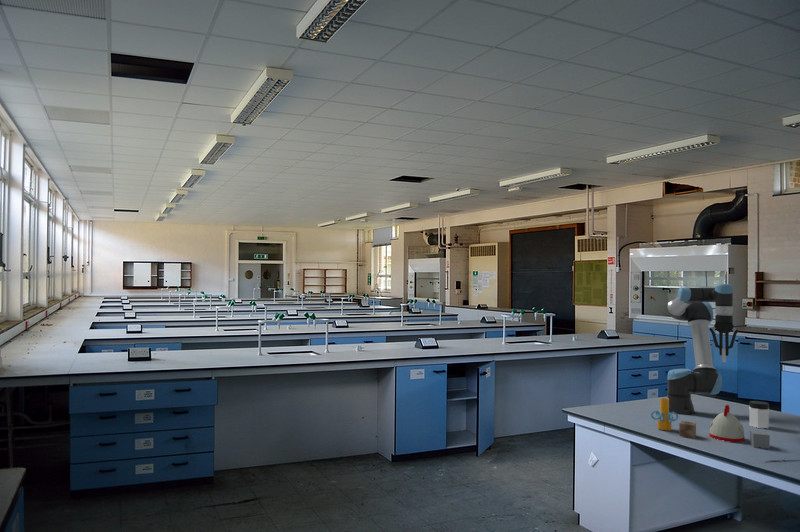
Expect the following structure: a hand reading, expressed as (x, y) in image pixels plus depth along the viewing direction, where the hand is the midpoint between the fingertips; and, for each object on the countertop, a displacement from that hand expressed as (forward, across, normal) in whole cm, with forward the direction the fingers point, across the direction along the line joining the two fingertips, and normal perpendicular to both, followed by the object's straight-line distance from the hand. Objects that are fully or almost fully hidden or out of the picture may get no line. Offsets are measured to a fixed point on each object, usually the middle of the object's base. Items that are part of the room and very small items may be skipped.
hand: (724, 361), depth 273 cm
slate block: (+32, +16, -28) cm, 46 cm away
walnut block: (+32, -12, -30) cm, 46 cm away
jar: (+33, +14, +13) cm, 38 cm away
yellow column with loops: (+33, -23, -24) cm, 46 cm away
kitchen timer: (+33, +3, -22) cm, 39 cm away
